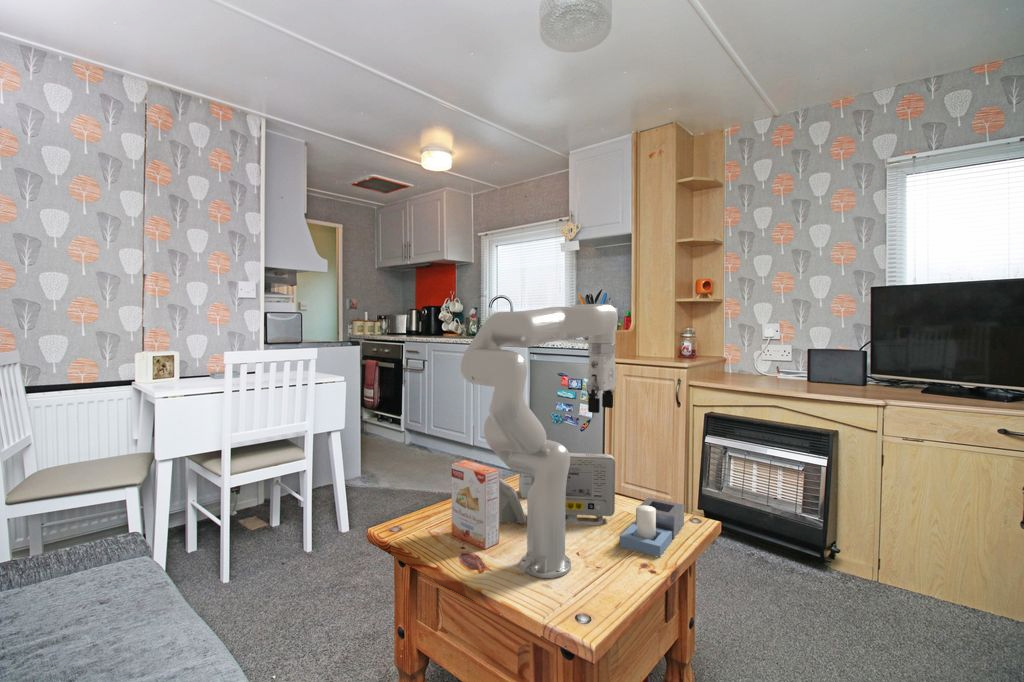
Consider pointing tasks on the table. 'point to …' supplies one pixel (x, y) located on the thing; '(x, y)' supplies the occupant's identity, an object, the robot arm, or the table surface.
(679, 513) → the upper socket
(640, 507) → the plug
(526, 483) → the supplement box
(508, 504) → the digital clock
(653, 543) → the lower socket
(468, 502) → the cracker box
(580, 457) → the network device
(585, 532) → the table surface
